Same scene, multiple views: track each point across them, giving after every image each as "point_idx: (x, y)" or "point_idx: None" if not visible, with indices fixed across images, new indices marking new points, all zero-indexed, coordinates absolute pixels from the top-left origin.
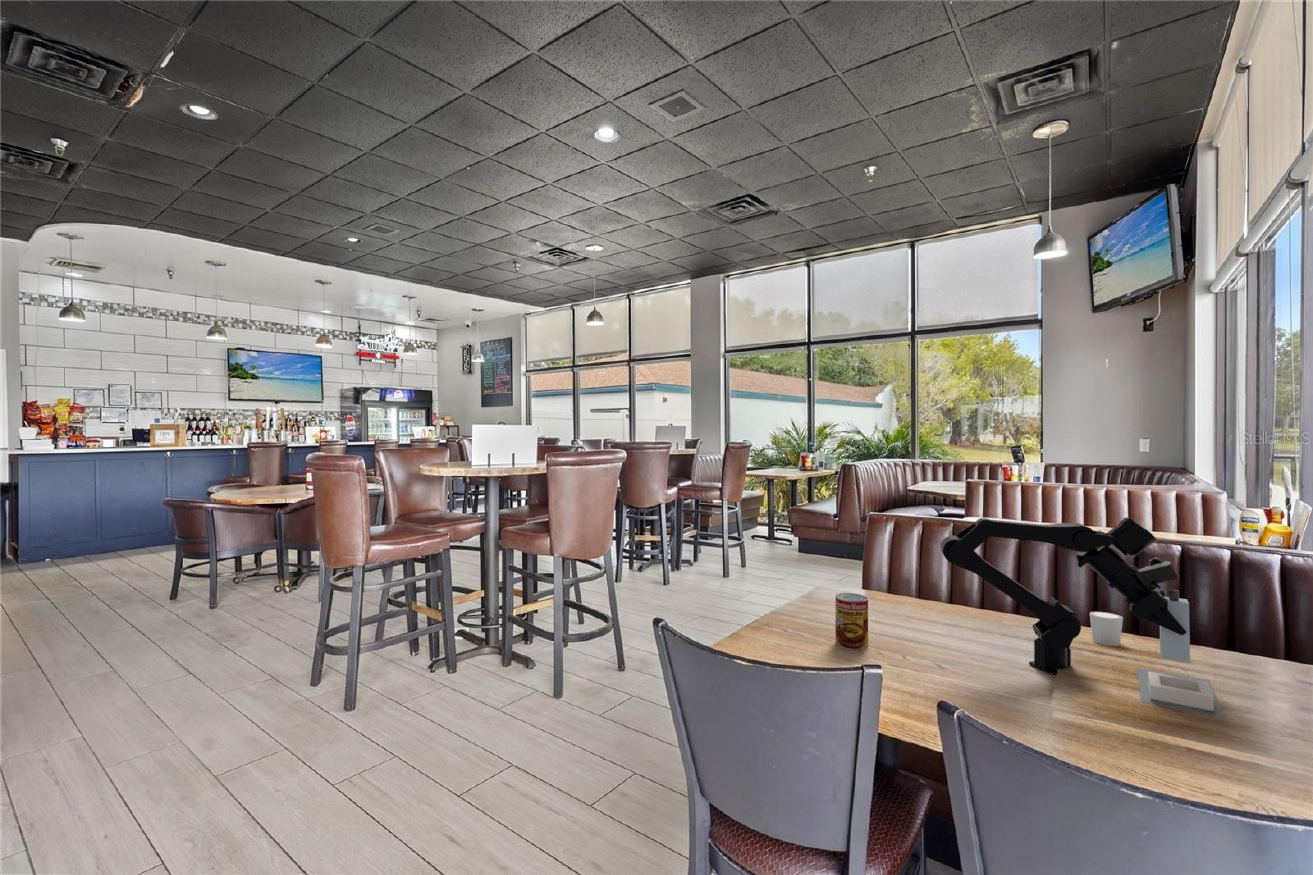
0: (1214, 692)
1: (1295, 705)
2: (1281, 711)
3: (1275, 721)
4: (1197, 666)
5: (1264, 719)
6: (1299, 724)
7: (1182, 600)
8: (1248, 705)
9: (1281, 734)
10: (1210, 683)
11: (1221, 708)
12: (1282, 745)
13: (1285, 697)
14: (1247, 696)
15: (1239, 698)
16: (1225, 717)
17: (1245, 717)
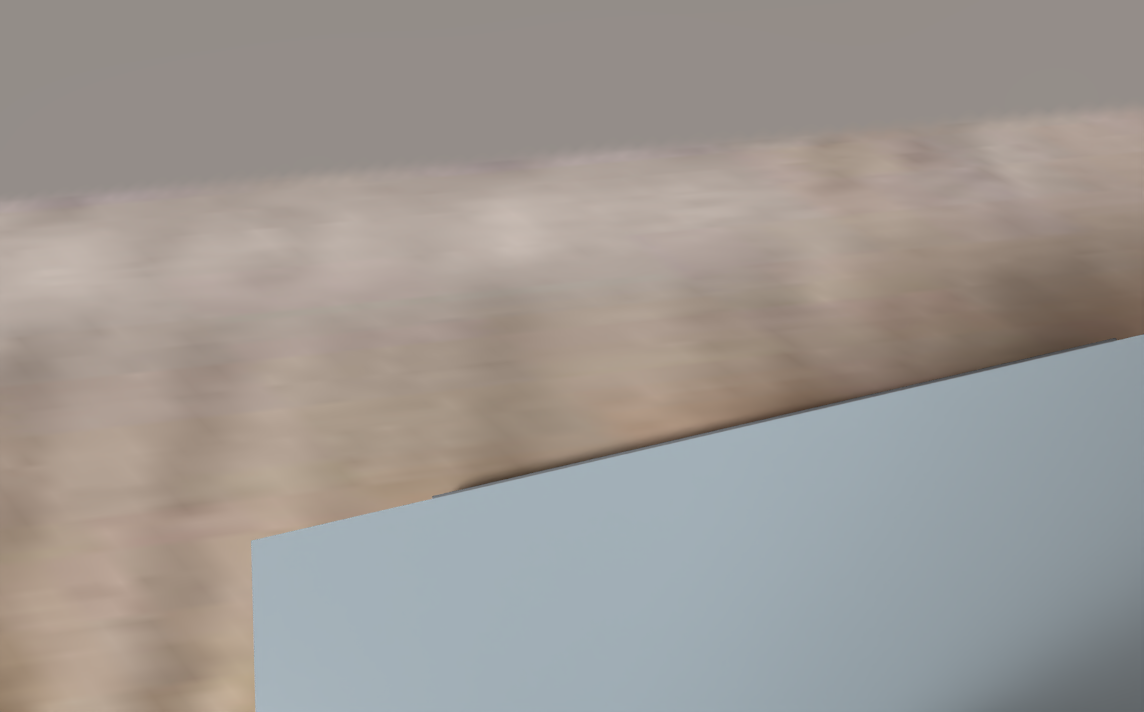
0: (672, 441)
1: (478, 184)
2: (623, 211)
3: (804, 213)
4: (69, 608)
5: (820, 245)
6: (753, 150)
7: (685, 653)
8: (657, 315)
9: (973, 180)
10: (498, 481)
11: (951, 376)
12: (1125, 164)
13: (381, 221)
14: (501, 335)
15: (570, 357)
16: (1095, 343)
17: (874, 303)
